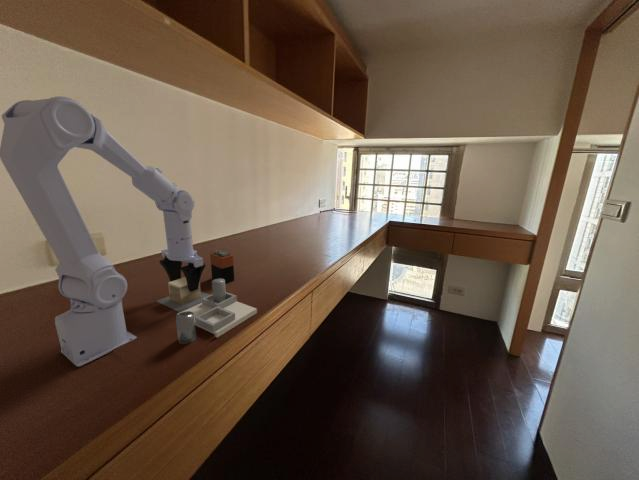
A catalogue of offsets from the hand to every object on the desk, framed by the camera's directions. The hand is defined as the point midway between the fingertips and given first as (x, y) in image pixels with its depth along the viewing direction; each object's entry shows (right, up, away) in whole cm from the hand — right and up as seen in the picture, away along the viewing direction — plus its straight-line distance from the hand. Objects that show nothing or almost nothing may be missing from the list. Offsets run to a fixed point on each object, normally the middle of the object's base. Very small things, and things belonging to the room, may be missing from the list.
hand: (184, 286), depth 68 cm
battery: (+5, -1, +14) cm, 15 cm away
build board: (+11, -6, -6) cm, 14 cm away
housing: (0, -3, +1) cm, 3 cm away
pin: (+9, -8, -16) cm, 20 cm away
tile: (0, -4, +1) cm, 4 cm away
